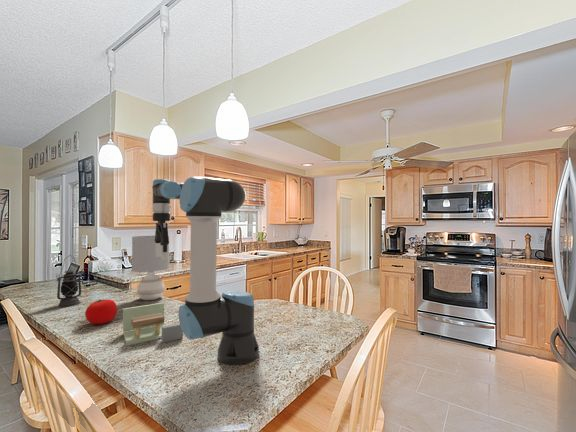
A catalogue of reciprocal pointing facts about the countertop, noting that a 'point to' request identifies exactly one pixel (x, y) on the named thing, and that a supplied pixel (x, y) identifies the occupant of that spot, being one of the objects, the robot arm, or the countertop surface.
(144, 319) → the shelf board
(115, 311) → the tomato
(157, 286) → the lamp
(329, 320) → the countertop surface
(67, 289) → the lantern
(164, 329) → the block
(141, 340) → the cabinet
